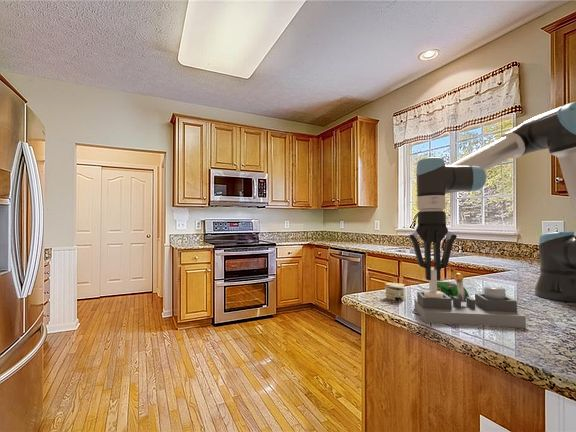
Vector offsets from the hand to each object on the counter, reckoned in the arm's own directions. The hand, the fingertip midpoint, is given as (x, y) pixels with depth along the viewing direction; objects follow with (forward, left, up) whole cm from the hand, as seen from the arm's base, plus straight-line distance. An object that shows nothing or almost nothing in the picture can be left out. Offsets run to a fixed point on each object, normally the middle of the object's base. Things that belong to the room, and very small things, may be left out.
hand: (433, 291), depth 87 cm
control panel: (-8, 0, -7) cm, 11 cm away
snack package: (-11, -24, -8) cm, 28 cm away
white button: (0, 0, -3) cm, 3 cm away
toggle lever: (-8, -1, -3) cm, 9 cm away
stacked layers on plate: (+8, -18, -8) cm, 21 cm away
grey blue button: (-16, 0, -2) cm, 16 cm away
